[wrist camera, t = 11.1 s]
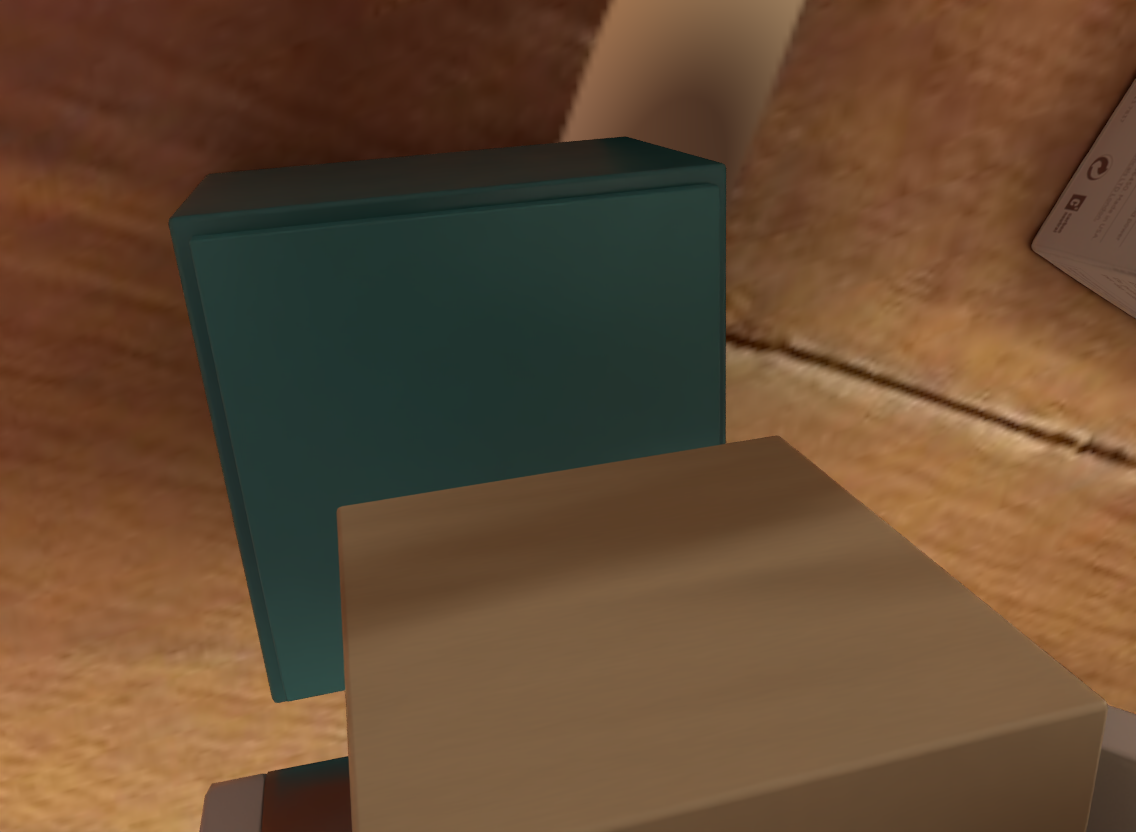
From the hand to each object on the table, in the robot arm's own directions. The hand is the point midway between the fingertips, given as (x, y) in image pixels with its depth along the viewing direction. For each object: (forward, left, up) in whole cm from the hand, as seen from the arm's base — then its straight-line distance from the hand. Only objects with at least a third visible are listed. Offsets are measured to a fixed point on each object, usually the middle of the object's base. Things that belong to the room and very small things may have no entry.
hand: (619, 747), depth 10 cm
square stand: (0, 0, -13) cm, 13 cm away
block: (0, 0, -2) cm, 2 cm away
